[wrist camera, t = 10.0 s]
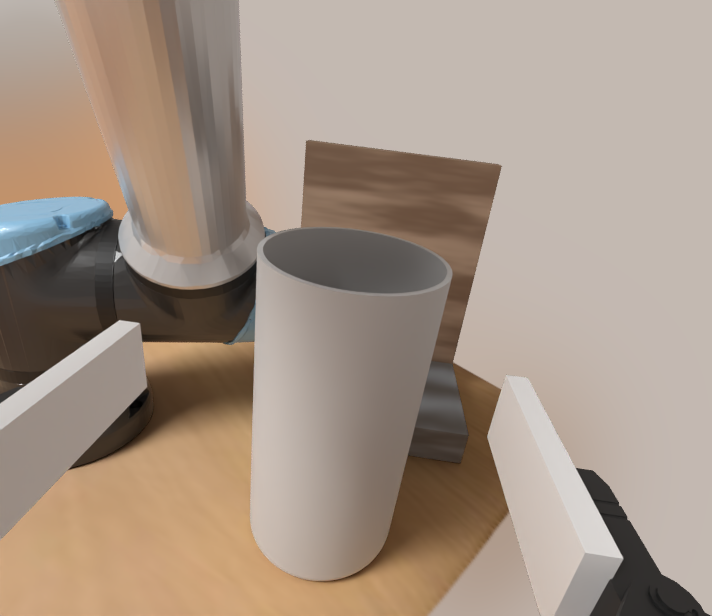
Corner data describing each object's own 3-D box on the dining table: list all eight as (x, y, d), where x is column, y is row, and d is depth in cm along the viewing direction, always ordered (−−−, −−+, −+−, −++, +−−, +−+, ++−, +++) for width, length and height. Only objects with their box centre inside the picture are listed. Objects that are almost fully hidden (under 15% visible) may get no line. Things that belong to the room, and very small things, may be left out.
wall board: (460, 463, 46) (542, 183, 33) (264, 433, 47) (271, 148, 34) (444, 379, 60) (497, 164, 48) (296, 358, 61) (309, 140, 49)
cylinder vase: (362, 453, 45) (403, 229, 34) (411, 565, 35) (492, 294, 24) (243, 472, 41) (247, 223, 30) (258, 605, 30) (272, 298, 20)
